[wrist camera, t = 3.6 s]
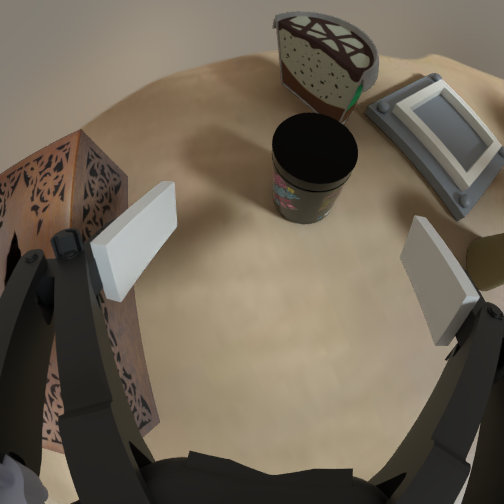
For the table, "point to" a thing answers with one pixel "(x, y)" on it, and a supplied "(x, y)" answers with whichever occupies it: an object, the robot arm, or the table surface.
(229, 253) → the table surface
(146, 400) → the tissue box cover
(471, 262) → the cork
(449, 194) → the base plate
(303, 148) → the supplement container
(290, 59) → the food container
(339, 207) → the table surface
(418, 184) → the table surface
